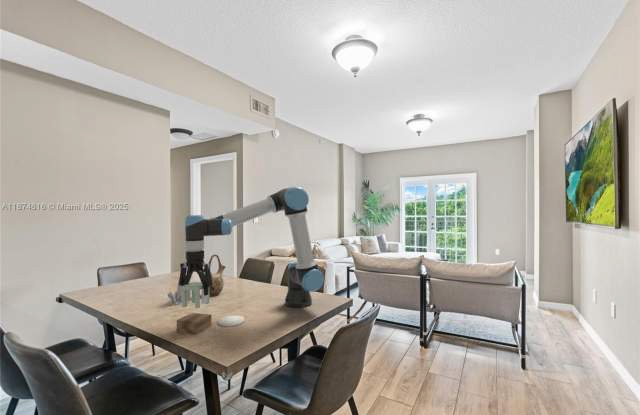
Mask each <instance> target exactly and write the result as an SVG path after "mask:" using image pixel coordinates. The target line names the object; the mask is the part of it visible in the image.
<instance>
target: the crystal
mask: <svg viewBox="0 0 640 415" xmlns="http://www.w3.org/2000/svg"><path fill="white" fill-rule="evenodd" d="M179 279H180V277H179V278H178V280H179ZM167 297H168V299H170V301H169V303H168V305H170V306H182V286H180V285H179V281H178V283H177V290H175V292H173V291H172V290H169V292H167ZM188 303H189V301H188V302H187V304H188Z"/></svg>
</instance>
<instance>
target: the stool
mask: <svg viewBox="0 0 640 415" xmlns="http://www.w3.org/2000/svg"><path fill="white" fill-rule="evenodd" d="M202 288H203V285H202V283H201V281H193V282H189V284H187V285H184V286H182V305H181V308H186V307H187V306H188V303H187V290H190V291H191V304H194V308H195V309H200V308H201V291H202ZM208 293H209V288H208ZM204 304H205V305H206V304H210V295H209V294H208V295H207V302H206V303H204Z"/></svg>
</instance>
